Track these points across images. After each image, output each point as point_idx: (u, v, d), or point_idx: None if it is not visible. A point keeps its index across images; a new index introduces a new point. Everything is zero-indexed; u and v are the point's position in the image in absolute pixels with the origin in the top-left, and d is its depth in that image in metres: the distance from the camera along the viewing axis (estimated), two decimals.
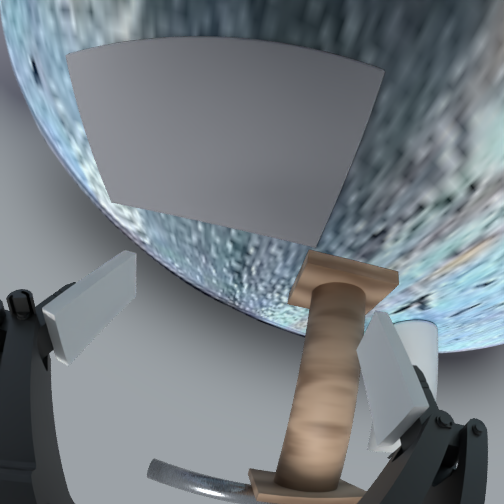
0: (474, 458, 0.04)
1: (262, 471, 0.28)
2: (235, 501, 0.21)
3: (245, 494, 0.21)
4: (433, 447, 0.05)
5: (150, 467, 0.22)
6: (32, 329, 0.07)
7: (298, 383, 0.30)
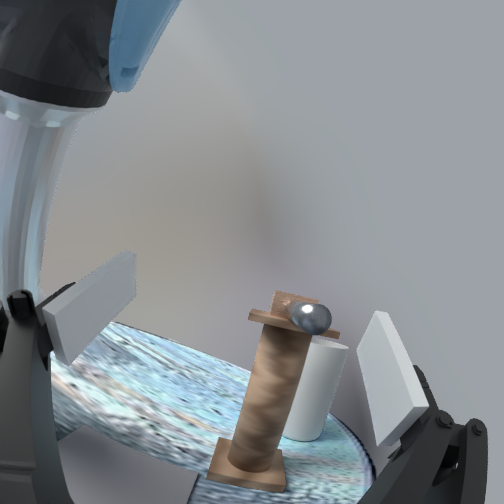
0: (474, 458, 0.04)
1: None
2: (293, 304, 0.35)
3: (288, 313, 0.36)
4: (433, 447, 0.05)
5: (300, 321, 0.25)
6: (32, 329, 0.07)
7: (266, 409, 0.37)
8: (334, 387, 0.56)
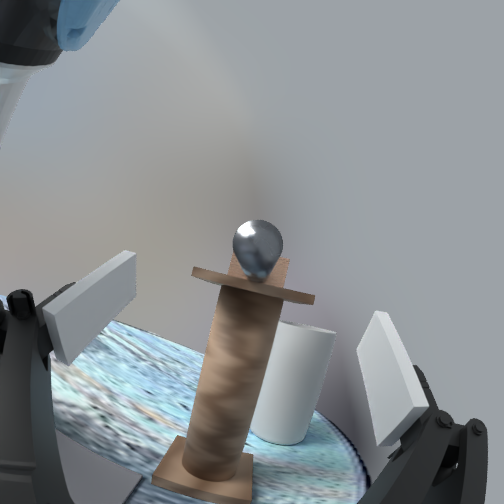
0: (474, 458, 0.04)
1: None
2: None
3: None
4: (433, 447, 0.05)
5: (233, 247, 0.17)
6: (32, 329, 0.07)
7: (221, 400, 0.28)
8: (320, 380, 0.47)
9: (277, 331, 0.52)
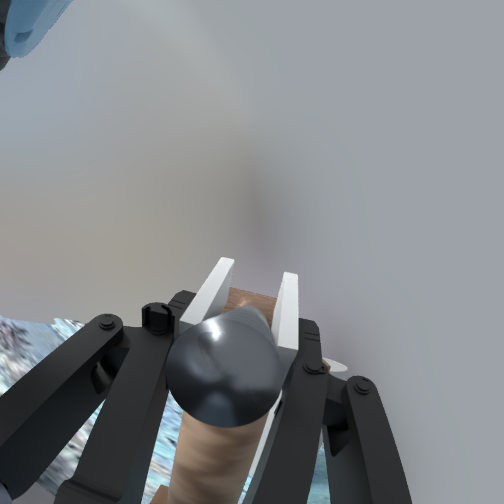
0: (368, 422, 0.06)
1: None
2: None
3: None
4: (308, 397, 0.07)
5: None
6: (165, 349, 0.08)
7: (202, 477, 0.18)
8: None
9: None
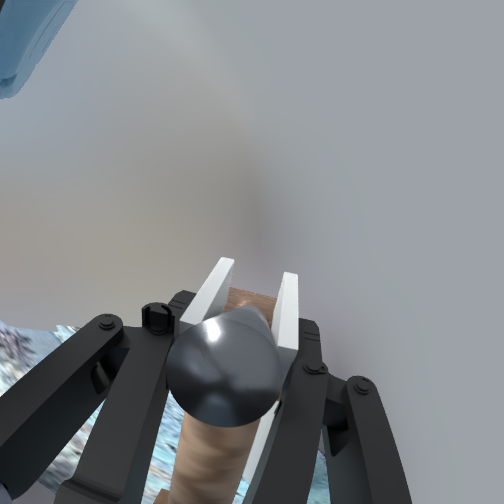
0: (368, 422, 0.06)
1: None
2: None
3: None
4: (308, 397, 0.07)
5: None
6: (165, 349, 0.08)
7: (198, 483, 0.20)
8: None
9: None
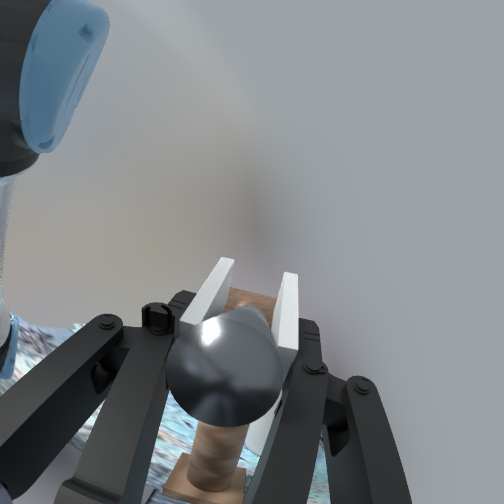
0: (368, 422, 0.06)
1: None
2: None
3: None
4: (308, 397, 0.07)
5: None
6: (165, 349, 0.08)
7: (217, 433, 0.33)
8: None
9: None
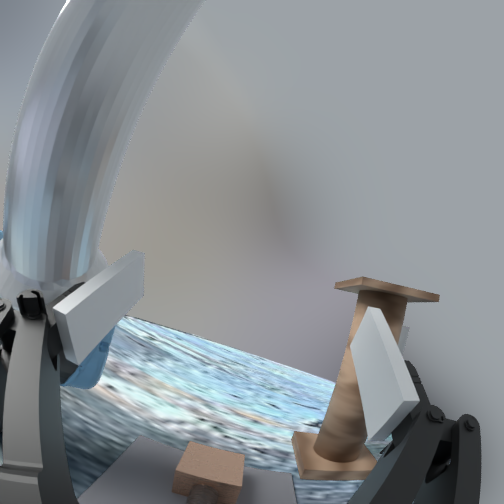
0: (467, 454, 0.04)
1: (428, 301, 0.33)
2: None
3: None
4: (425, 442, 0.05)
5: None
6: (42, 329, 0.07)
7: None
8: None
9: None
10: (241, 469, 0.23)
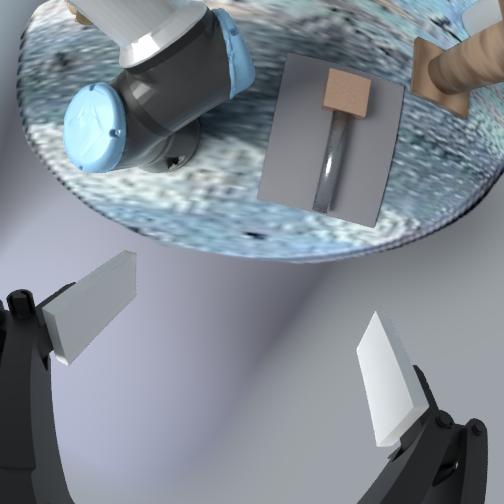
0: (474, 458, 0.04)
1: None
2: (328, 149, 0.41)
3: (326, 144, 0.42)
4: (433, 447, 0.05)
5: None
6: (32, 329, 0.07)
7: (481, 79, 0.21)
8: None
9: None
10: (367, 98, 0.36)
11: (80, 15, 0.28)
